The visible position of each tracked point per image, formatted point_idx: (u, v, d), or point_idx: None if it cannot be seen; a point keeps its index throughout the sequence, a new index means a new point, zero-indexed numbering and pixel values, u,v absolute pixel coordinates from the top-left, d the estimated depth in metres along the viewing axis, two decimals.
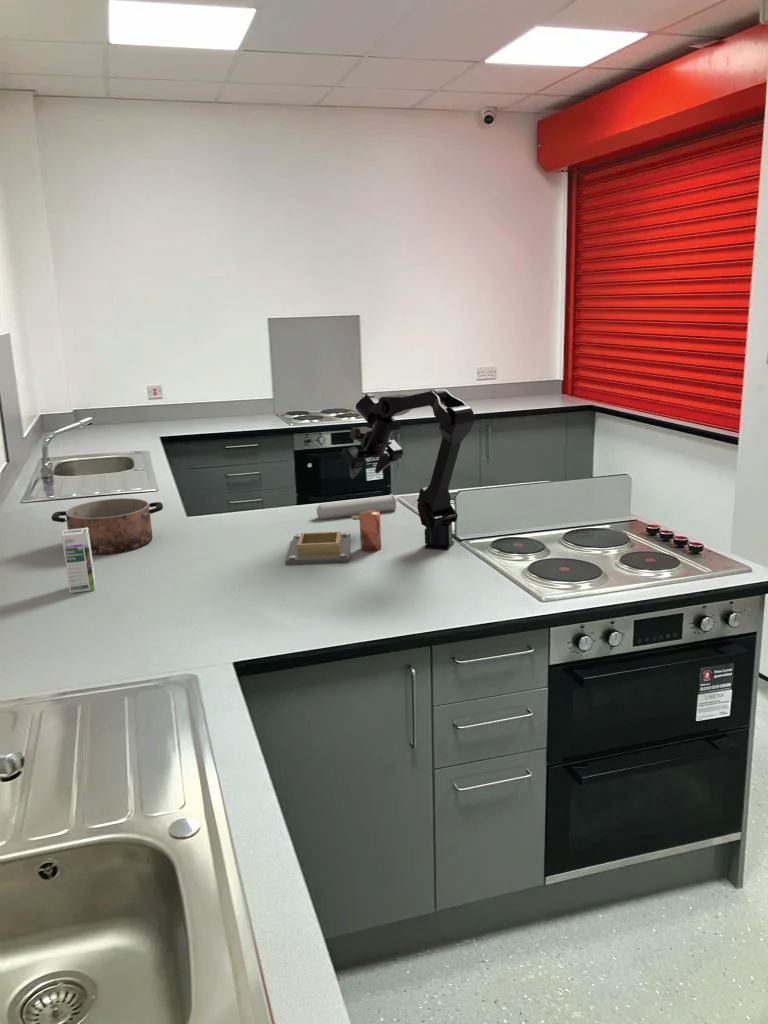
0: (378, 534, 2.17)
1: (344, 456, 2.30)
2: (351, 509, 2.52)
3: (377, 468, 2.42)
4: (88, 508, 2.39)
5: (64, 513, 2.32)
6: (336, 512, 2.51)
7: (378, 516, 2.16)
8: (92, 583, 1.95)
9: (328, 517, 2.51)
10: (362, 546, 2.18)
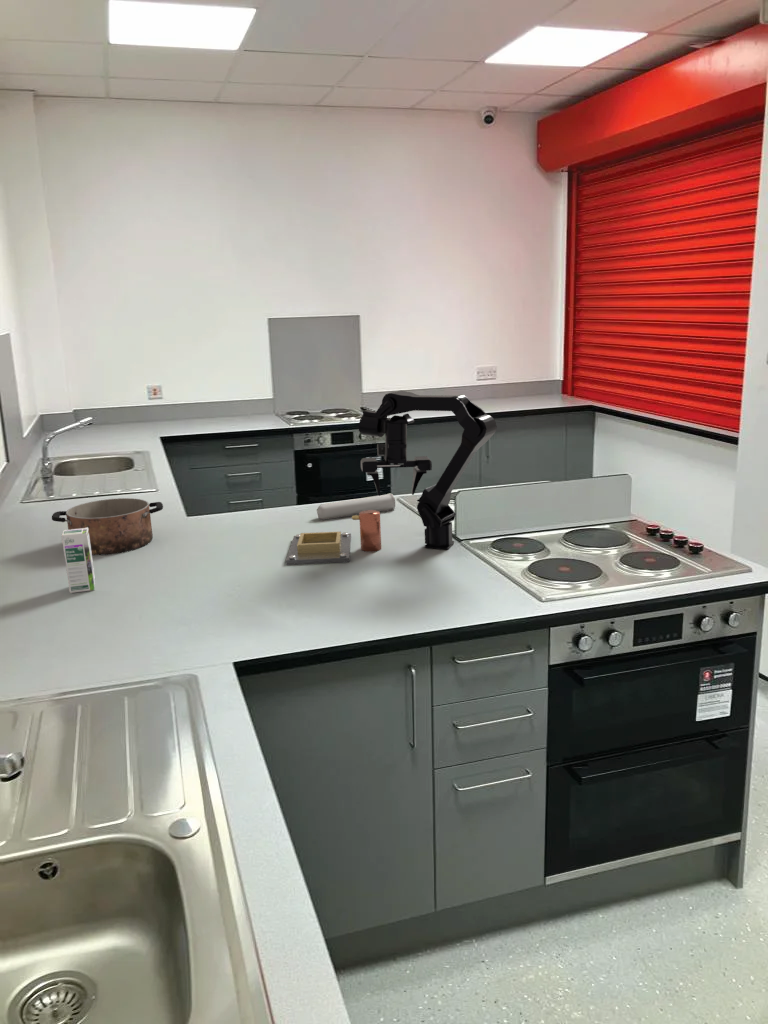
0: (378, 534, 2.17)
1: (361, 466, 2.22)
2: (351, 508, 2.53)
3: (412, 488, 2.24)
4: (88, 508, 2.39)
5: (64, 513, 2.32)
6: (336, 512, 2.51)
7: (378, 516, 2.16)
8: (92, 583, 1.95)
9: (329, 517, 2.51)
10: (362, 546, 2.18)
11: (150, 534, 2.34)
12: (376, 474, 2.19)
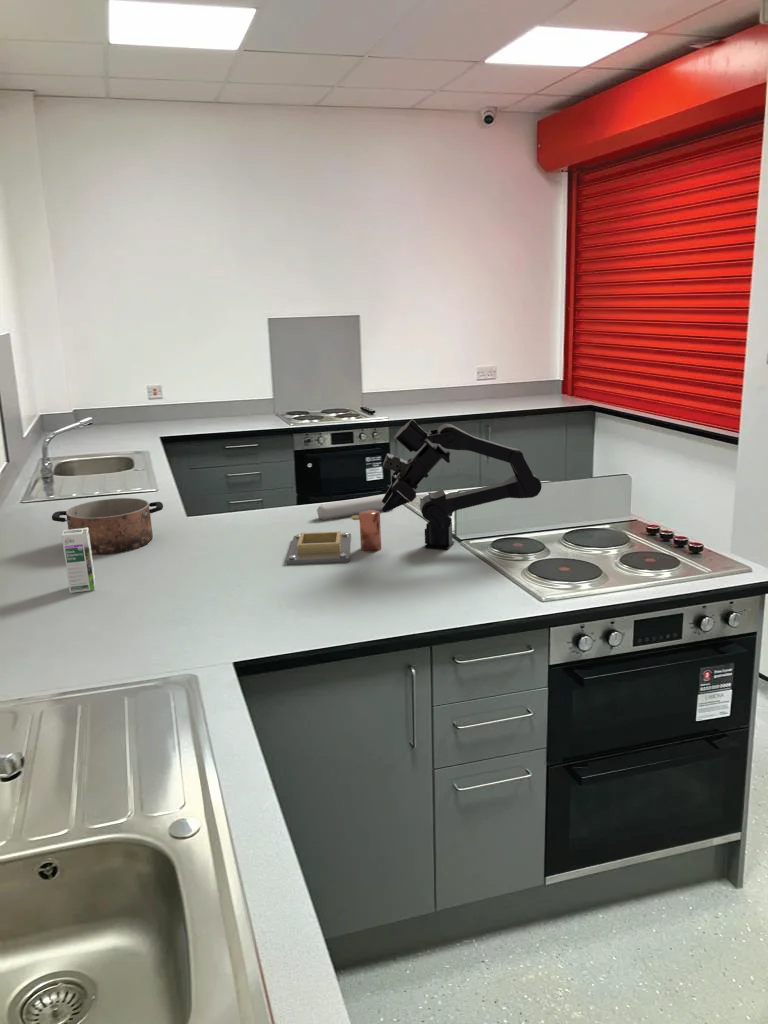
0: (378, 534, 2.17)
1: (400, 489, 2.07)
2: (351, 508, 2.53)
3: (386, 498, 2.21)
4: (88, 508, 2.39)
5: (64, 513, 2.32)
6: (337, 512, 2.51)
7: (378, 516, 2.16)
8: (92, 583, 1.95)
9: (329, 517, 2.51)
10: (362, 546, 2.18)
11: (150, 534, 2.34)
12: None
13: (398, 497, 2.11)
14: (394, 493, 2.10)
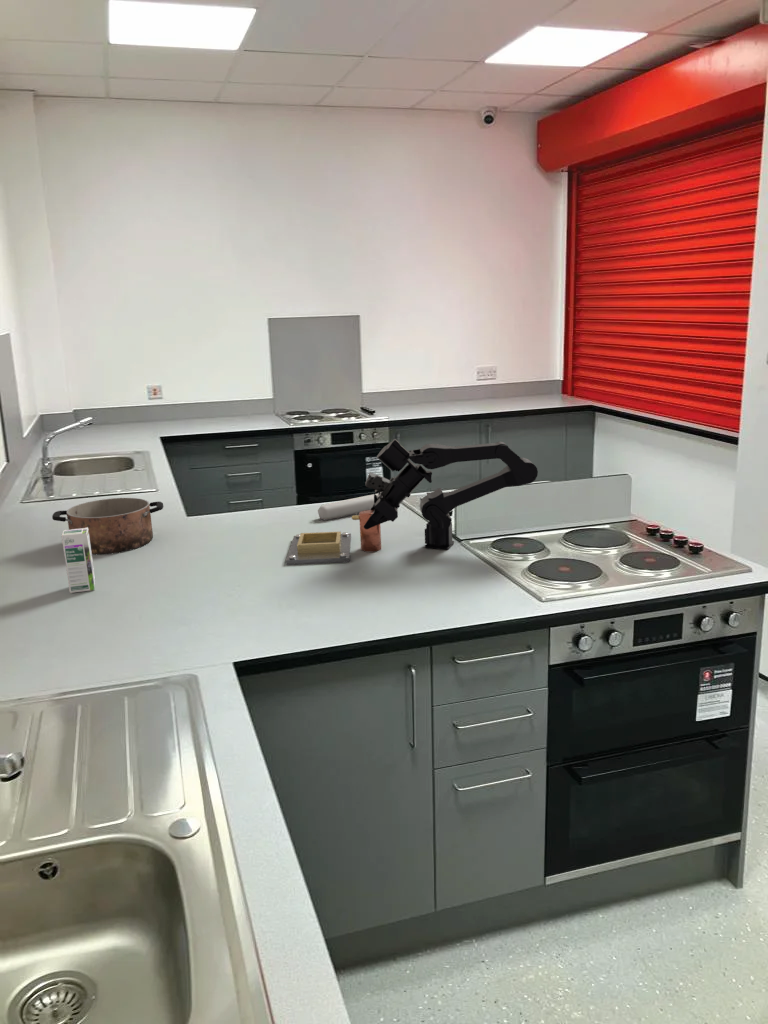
0: (378, 534, 2.17)
1: (382, 509, 2.08)
2: (351, 508, 2.53)
3: None
4: (89, 507, 2.39)
5: (65, 512, 2.33)
6: (338, 512, 2.51)
7: None
8: (92, 583, 1.95)
9: (331, 517, 2.50)
10: (362, 546, 2.18)
11: (150, 533, 2.34)
12: None
13: (380, 515, 2.14)
14: (376, 511, 2.12)
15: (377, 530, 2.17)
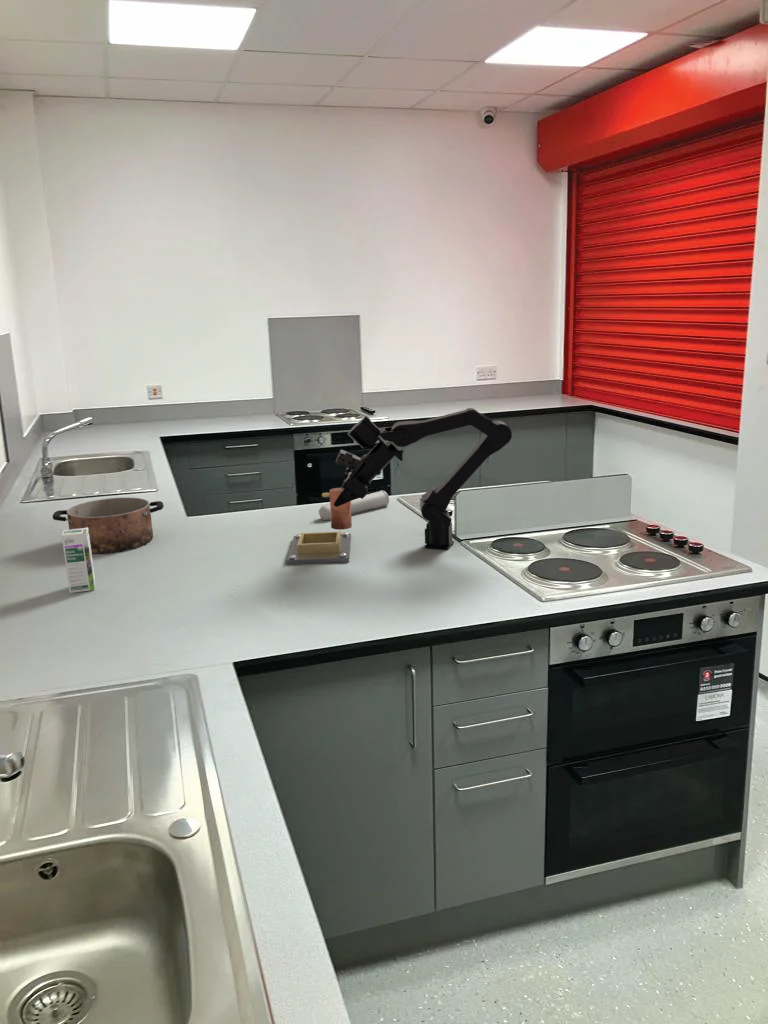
0: (348, 512, 2.16)
1: (351, 486, 2.06)
2: (352, 507, 2.54)
3: None
4: (89, 507, 2.40)
5: (65, 512, 2.33)
6: None
7: None
8: (92, 583, 1.95)
9: None
10: (332, 524, 2.17)
11: (150, 533, 2.34)
12: None
13: (350, 492, 2.12)
14: (346, 488, 2.11)
15: (347, 508, 2.15)
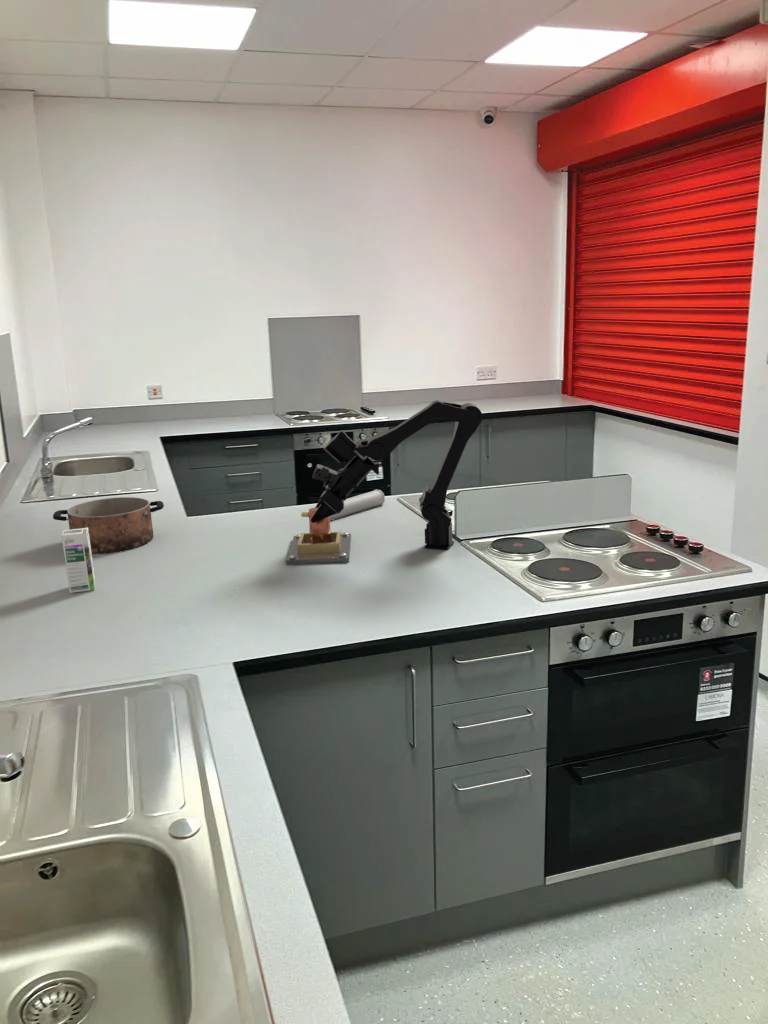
0: (327, 532, 2.17)
1: (328, 500, 2.07)
2: (351, 507, 2.54)
3: None
4: (89, 507, 2.40)
5: (65, 512, 2.33)
6: None
7: None
8: (92, 583, 1.95)
9: (334, 517, 2.50)
10: None
11: (151, 533, 2.35)
12: None
13: (326, 508, 2.11)
14: (322, 504, 2.10)
15: (326, 528, 2.17)
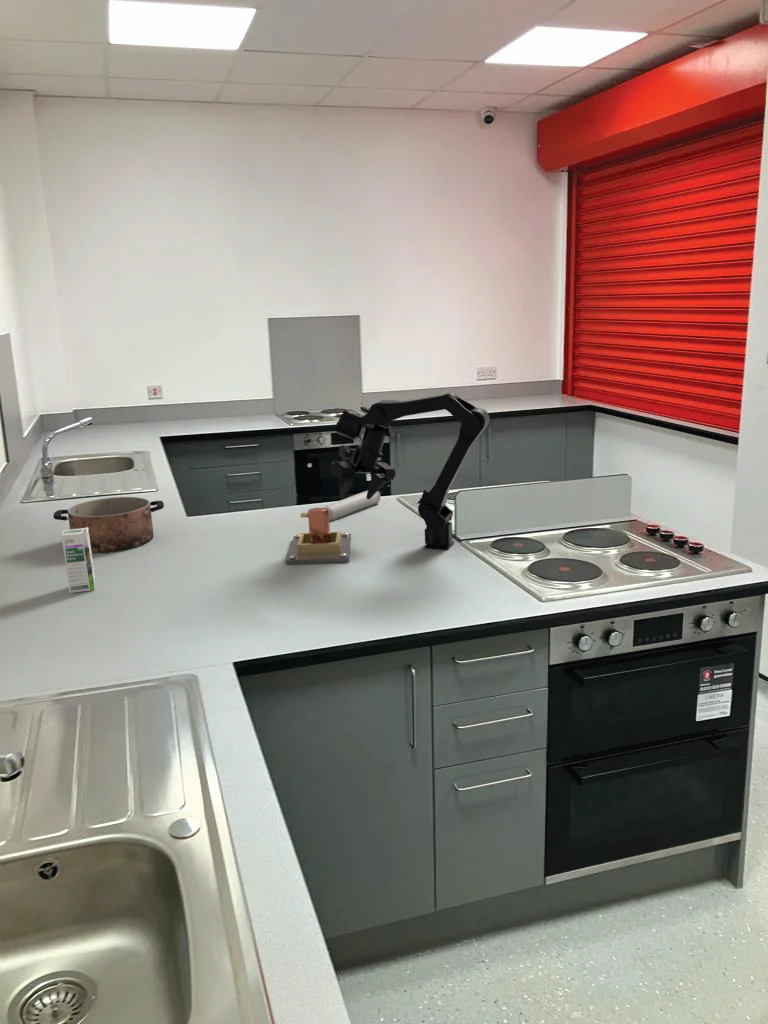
0: (327, 531, 2.17)
1: (333, 469, 2.16)
2: (351, 506, 2.55)
3: (369, 493, 2.27)
4: (90, 506, 2.41)
5: (66, 511, 2.34)
6: (341, 511, 2.51)
7: (326, 513, 2.16)
8: (92, 583, 1.95)
9: (336, 518, 2.50)
10: None
11: (151, 532, 2.35)
12: (351, 481, 2.16)
13: (344, 480, 2.18)
14: (339, 477, 2.19)
15: (326, 528, 2.17)
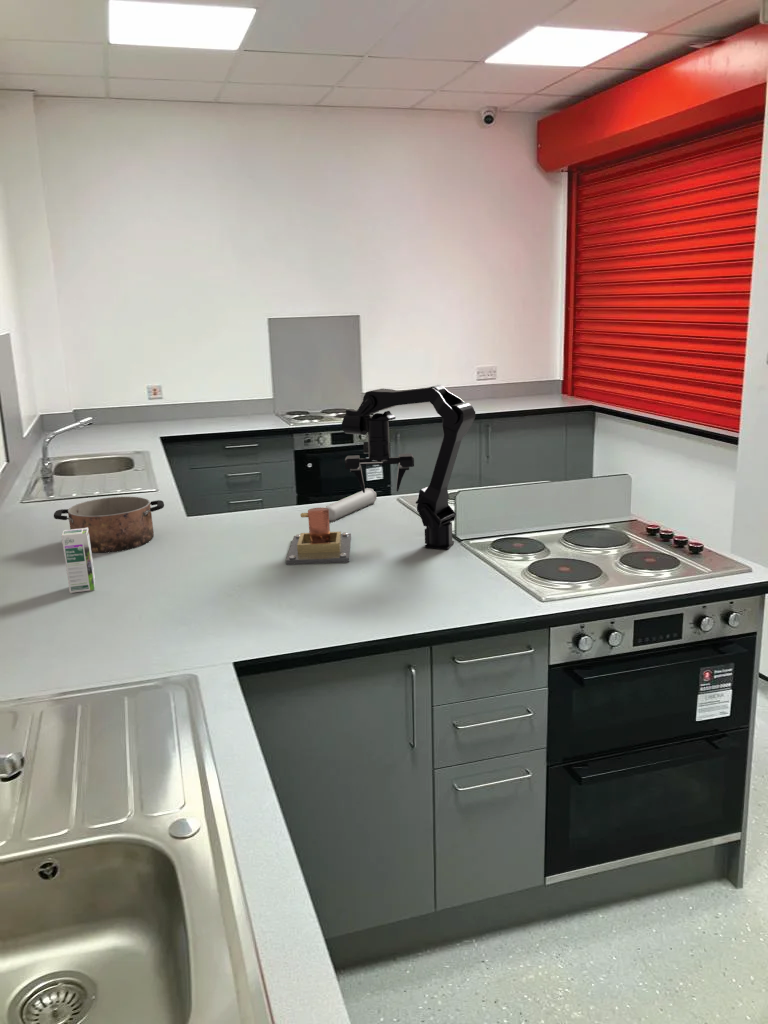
0: (327, 531, 2.17)
1: None
2: (351, 506, 2.55)
3: (396, 485, 2.27)
4: (90, 506, 2.41)
5: (66, 511, 2.34)
6: (342, 511, 2.51)
7: (326, 513, 2.16)
8: (92, 583, 1.95)
9: (337, 518, 2.50)
10: None
11: (151, 532, 2.35)
12: (359, 471, 2.23)
13: None
14: None
15: (326, 528, 2.17)
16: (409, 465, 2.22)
